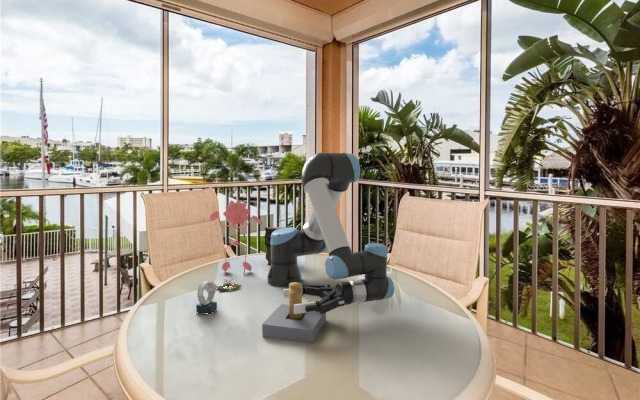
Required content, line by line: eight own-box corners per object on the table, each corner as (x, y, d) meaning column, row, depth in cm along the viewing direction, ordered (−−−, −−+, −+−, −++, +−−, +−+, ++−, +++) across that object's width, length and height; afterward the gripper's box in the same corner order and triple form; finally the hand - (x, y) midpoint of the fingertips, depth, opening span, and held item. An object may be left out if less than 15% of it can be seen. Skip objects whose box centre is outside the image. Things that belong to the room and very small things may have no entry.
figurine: (261, 276, 166) (259, 201, 164) (207, 275, 168) (204, 201, 165) (268, 267, 182) (266, 198, 179) (218, 266, 183) (216, 199, 180)
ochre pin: (287, 328, 113) (287, 285, 112) (292, 323, 117) (291, 281, 115) (299, 330, 112) (299, 286, 111) (303, 324, 116) (303, 282, 114)
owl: (295, 264, 185) (294, 226, 183) (273, 269, 178) (272, 229, 176) (283, 259, 195) (282, 223, 193) (262, 263, 188) (261, 225, 186)
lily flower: (212, 286, 155) (211, 276, 154) (239, 282, 159) (239, 272, 159) (215, 295, 144) (215, 284, 143) (245, 291, 148) (245, 280, 148)
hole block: (262, 336, 109) (262, 324, 109) (281, 315, 124) (281, 303, 124) (312, 343, 105) (312, 330, 104) (326, 320, 120) (326, 308, 120)
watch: (219, 307, 131) (218, 278, 130) (207, 317, 123) (206, 286, 122) (206, 306, 132) (204, 277, 131) (193, 315, 124) (192, 284, 123)
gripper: (366, 318, 108) (299, 329, 101) (336, 290, 132) (279, 298, 125) (366, 294, 108) (299, 304, 101) (336, 271, 131) (279, 277, 124)
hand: (288, 301), depth 113 cm, fingers open, 13 cm apart
